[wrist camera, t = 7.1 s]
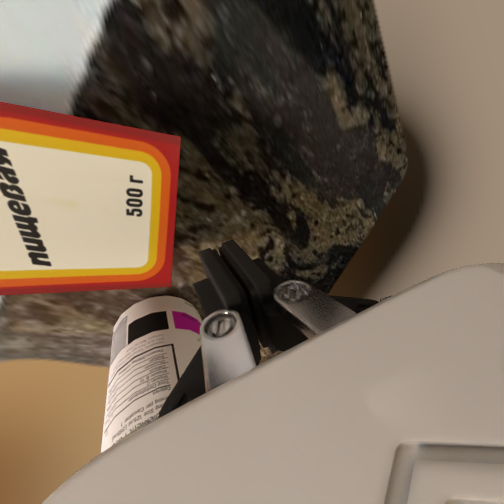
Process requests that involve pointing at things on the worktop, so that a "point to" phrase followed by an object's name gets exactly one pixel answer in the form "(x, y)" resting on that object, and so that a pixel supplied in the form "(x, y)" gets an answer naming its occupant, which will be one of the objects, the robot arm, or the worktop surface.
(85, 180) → the baking soda box
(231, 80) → the worktop surface
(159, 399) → the supplement can
